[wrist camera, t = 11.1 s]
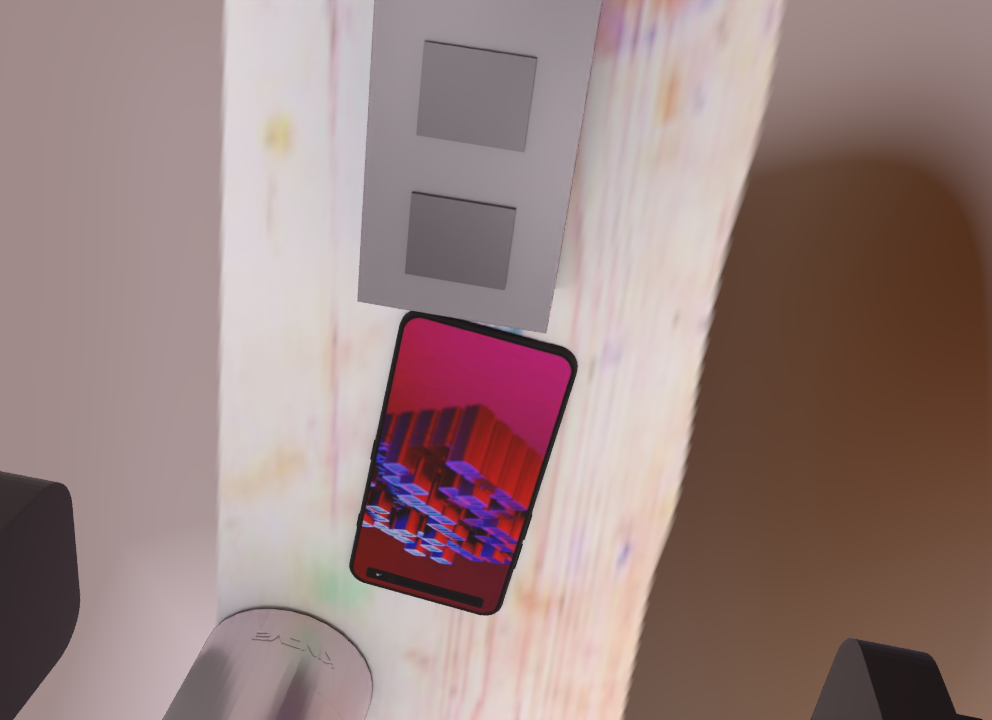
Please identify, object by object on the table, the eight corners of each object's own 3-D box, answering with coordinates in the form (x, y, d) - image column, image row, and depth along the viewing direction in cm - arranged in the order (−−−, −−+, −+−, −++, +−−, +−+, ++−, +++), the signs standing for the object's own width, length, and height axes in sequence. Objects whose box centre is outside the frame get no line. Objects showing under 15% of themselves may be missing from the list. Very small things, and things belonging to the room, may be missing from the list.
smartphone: (583, 357, 38) (498, 621, 45) (584, 347, 39) (500, 609, 46) (401, 307, 38) (344, 578, 45) (405, 298, 39) (349, 566, 46)
